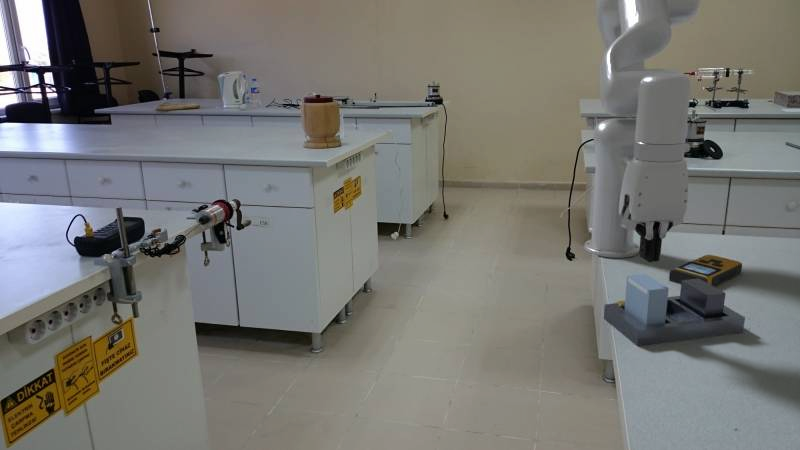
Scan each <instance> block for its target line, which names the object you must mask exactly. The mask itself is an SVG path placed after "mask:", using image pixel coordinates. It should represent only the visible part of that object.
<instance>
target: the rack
mask: <svg viewBox="0 0 800 450" xmlns="http://www.w3.org/2000/svg"><path fill="white" fill-rule="evenodd" d="M725 299H726V292H724V291H723V290H722V289H719V288H717V287H716V286H712V285H710V284H708V283H706V282H704V281H703V280H701V279H690V280H682V282H681V284H680V293H679V295H676V296H675V295H674V296H668V299H667V309H666V319H665V324H660V325H652V326H645V325H644V324H643V323H641V322H640V321H639V320H637V319H636V318H635V317H633V316H632V315H631V314H629V313H628V312H627V311H625V310H624V309H625V300H620V301H619V300H617V302H616V303H614V302H613V303H606V304H604V309H603V310H604V312H603V319H604V320H605V321H606V323H609V324H610V326H612V327H614V328H615V329H616V330H617V331H618V332H619V333H621V334H622V335H624V337H626V339H628V340H629V341H631V342H632V343H633V344H634V345H635V346H637V347H639V346H648V345H656V344H663V343H670V342H671V343H672V342H679V341H685V340H686V341H687V340H692V339H693V340H694V339H695V340H696V339H701V338H702V339H703V338H709V337H716V336H723V335H724V336H725V335H730V334H731V335H733V334H740V333H744V328H745V321H746V317H745V316H743V315H742V314H740V313H739V312H737V311H735V310H733V309H731V308H729V307H727V306H726V305H725Z"/></svg>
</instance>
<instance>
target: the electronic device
mask: <svg viewBox="0 0 800 450" xmlns="http://www.w3.org/2000/svg"><path fill="white" fill-rule="evenodd" d="M742 269H743V263H742V262H740V261H739V260H733V259H729V258H727V257H721V256H718V255H714V254H705V255H703V256H700V257H698V258H696V259H693V260H691V261H689V262H686V263H684V264H681V265H680V266H678V267H676V268H673V269H670V272H669V275H668V279H669V280H668V281H669V282H671V283H675V284H679V285H681V282H682V280H690V279H701V280H703V281H704V282H706V283H708V284H710V285H712V286H714V287H716V286H718V285H721V284H723V283H725V282H727V281H728V280H731V279H733V278H735V277H737V276H739V275H741V273H742Z"/></svg>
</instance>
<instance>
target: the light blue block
mask: <svg viewBox="0 0 800 450" xmlns="http://www.w3.org/2000/svg"><path fill="white" fill-rule="evenodd" d="M668 297H669V287H667V286H666V285H665V284H663V283H661V282H659V281H658V280H657V279H654V277H651V276H649V275H648V274H647V273H639V274H629V275H628V274H627V275H626V286H625V298H624V301H625V309H624V310H625V311H627V312H628V313H629V314H631V315H632V316H633V317H635V318H636V319H637V320H639V321H640V322H641V323H643V324H644V325H645V326H652V325H660V324H665V319H666V309H667V299H668Z"/></svg>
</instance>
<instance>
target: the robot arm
mask: <svg viewBox="0 0 800 450" xmlns="http://www.w3.org/2000/svg"><path fill="white" fill-rule="evenodd" d="M700 1H701V0H596V6H595V7H596V13H595V14H596V21H597V27H598V30H599V33H600V36H601V40H602V43H603V44H602V45H603V48H604V54H603V58H602V60H601V62H600V66H599V67H600V68H599V91H600V102H601V105H602V108H603V110H604V111H605V112H606V113H607V114H608V115H611V116H615V118H608V119H605V120H603V121H601V122H599V123H598V124H597V125H596V127H595V128H594V131H593V146H594V147H593V148H594V149H593V150H594V157H595V158H594V159H595V160H594V162H595V177H594V192H593V195H594V196H593V208H592V209H593V213H592V227H589V229H588V232H589V233H591V239H588V240H587V241H585V243H584V250H586V251H587V252H588V253H590V254H592V255H595V256H599V257H604V258H612V259H613V258H614V259H615V258H618V259H619V258H621V259H622V258H630V257H634V256H636V255H638V254H639V257H640V258H641V259H643V260H645V261H646V262H648V263H653V262H654V263H655V262H658V263H659V262H660V256H661V253H662V245H663V244H662V242H663V239H665V238H666V236H667V233H668V232H669V231H670V230H672V229H671V228H673V227H676V226H679V225H682V224H684V217H685V215H686V213H687V210H688V203H689V201H688V200H689V173H688V165H687V160H685V159H684V157H685V153H688V152H690V150H691V145H690V144H689V143H686V138H687V129H688V127H687V126H688V118H689V109H690V108H689V107H690V102H691V101H690V100H691V96H692V83H691V80H690V78H689V77H688V76H687V75H686V74H685V73H684V72H681V71H679V70H671V69H669V68H646V66H645V60H647V59H650V58H652V57H655V56H657V55H658V54H660V53H661V52H663V50H665V49H666V48H667V46H668V45H669V43H670V41H671V39H672V36H673V35H672V34H673V32H672V30H673V29H672V27H675V26H679V25H681V24H684V23H688V22H689V21H690V20H691V19H692V18H694V17H695V16H696V14H697V12H698V10H699V7H700ZM616 117H617V118H616ZM618 117H619V118H618ZM621 117H623V118H621ZM635 232H636V233H637V235H638V236H640V238H639V244H637V243H636V242H634V235H635Z"/></svg>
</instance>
